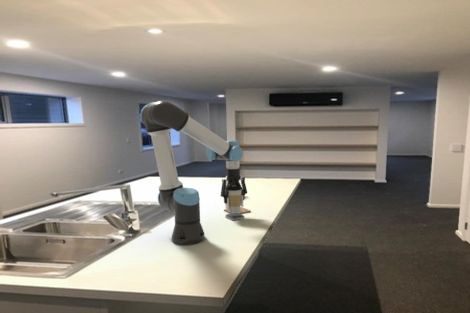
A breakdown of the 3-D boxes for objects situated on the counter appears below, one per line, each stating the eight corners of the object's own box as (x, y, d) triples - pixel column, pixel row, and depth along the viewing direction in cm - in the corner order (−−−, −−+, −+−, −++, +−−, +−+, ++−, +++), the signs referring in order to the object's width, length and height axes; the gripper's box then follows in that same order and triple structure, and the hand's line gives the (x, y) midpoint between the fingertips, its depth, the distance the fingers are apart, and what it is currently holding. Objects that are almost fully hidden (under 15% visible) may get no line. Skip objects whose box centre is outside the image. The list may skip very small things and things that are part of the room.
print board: (233, 215, 187) (233, 213, 187) (224, 210, 197) (224, 209, 197) (250, 212, 193) (250, 210, 193) (240, 207, 203) (240, 206, 203)
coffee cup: (245, 209, 185) (244, 184, 184) (240, 214, 176) (239, 187, 174) (228, 209, 188) (227, 183, 186) (223, 213, 178) (222, 187, 177)
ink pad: (232, 220, 176) (231, 217, 176) (225, 217, 183) (225, 214, 183) (244, 218, 180) (244, 215, 180) (237, 215, 187) (237, 212, 187)
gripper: (219, 170, 171) (220, 212, 173) (252, 166, 181) (254, 205, 183) (212, 169, 177) (214, 209, 179) (245, 165, 188) (247, 203, 190)
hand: (234, 207), depth 181 cm, fingers closed on coffee cup, 9 cm apart
